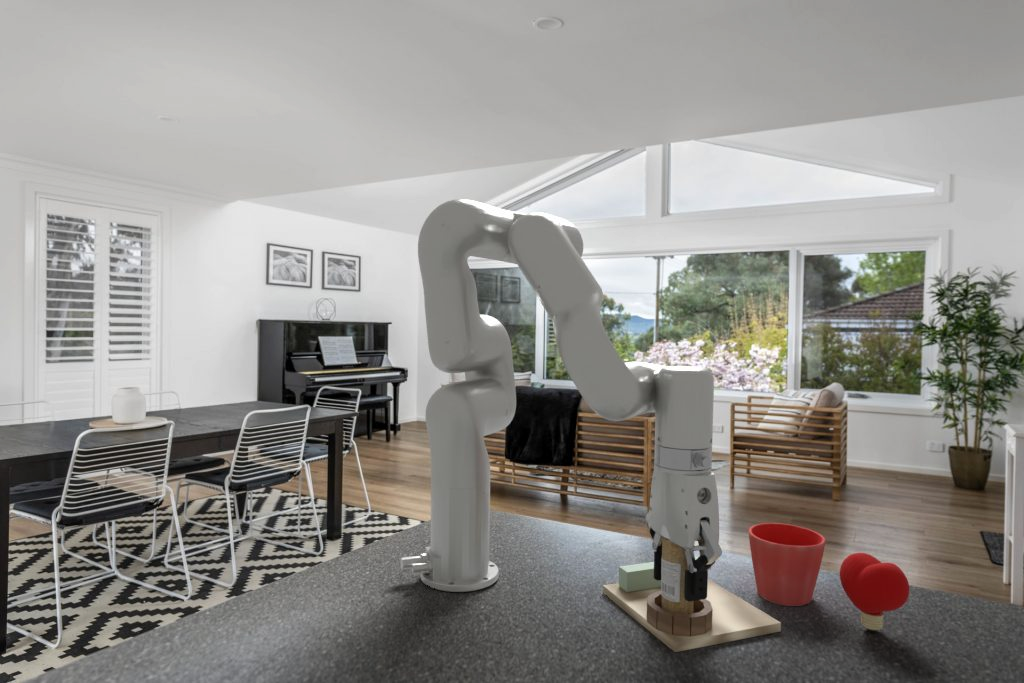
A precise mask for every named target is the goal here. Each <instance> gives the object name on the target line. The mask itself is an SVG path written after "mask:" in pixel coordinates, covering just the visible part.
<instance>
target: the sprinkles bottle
mask: <svg viewBox="0 0 1024 683" xmlns="http://www.w3.org/2000/svg"><path fill="white" fill-rule="evenodd" d="M661 535H662V562H661V595H662V609H663V610H666V611H669V612H673V613H679V614H692V613H693V604H694V603H693V602H694V601H690V602H688V601H686V600H685V598H684V588H685V570H689V569H688V564H687V559H686V555H685V550H684V548H682V547H680V546H679V545H677V544H675V543H674V542H672V541H670V540H669V539H670V537H669V534H668V531H667V529H666V527H665V526H664V525H663V526H662V530H661ZM693 552H694V553H695V551H693Z"/></svg>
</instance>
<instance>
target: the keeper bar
mask: <svg viewBox="0 0 1024 683" xmlns="http://www.w3.org/2000/svg"><path fill="white" fill-rule="evenodd" d="M694 556H695V560H696V559H697V558H698V557H699V556H696V555H694ZM618 583H619V587H621V588H622V589H623V590H625V591H626V592H631V591H637V590H644V589H650V588H657V587H661V580H656V579H654V561H651V562H642V563H637V564H635V563H634V564H629V565H621V566H619V567H618Z"/></svg>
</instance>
